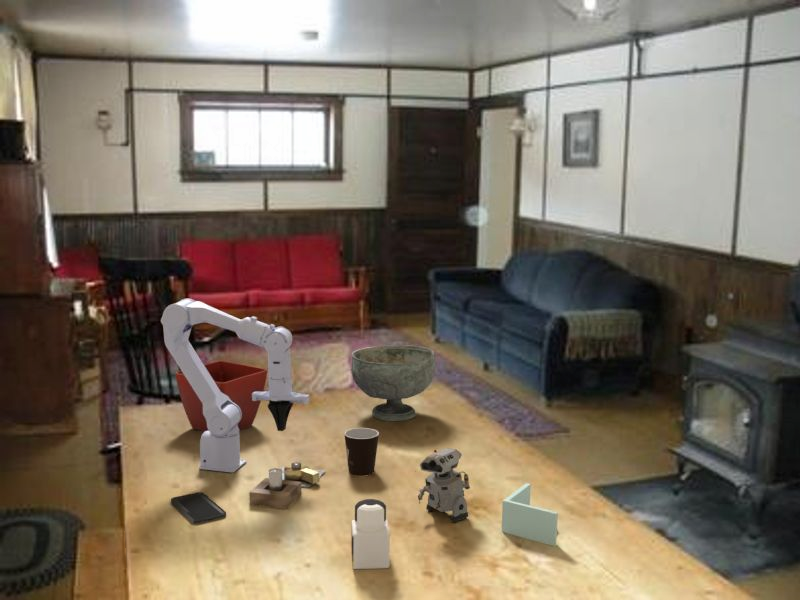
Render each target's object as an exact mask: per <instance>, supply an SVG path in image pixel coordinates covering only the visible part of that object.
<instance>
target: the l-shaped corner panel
mask: <svg viewBox="0 0 800 600" xmlns="http://www.w3.org/2000/svg"><path fill="white" fill-rule="evenodd" d="M531 486H532V485H531V483H528V482H525V483H524V484H523V485H522V486H521V487H519V488H517V489H516V490H515V491H514V492H512V493H511V494H509V495H508V496H507V497H506V498H504V499H503V500H502V506H501V507H502V511H501V512H502V513H501V533H504V534H509V535H512V536H516V537H519V538H523V539H527V540H530V541H534V542H538V543H542V544H547V545H550V546H556V545H557V538H558V537H557V536H558V535H557V534H558V518H559V517H558V515H559V513H558V512H557V511H554V510H550V509H545V508H542V507H537V506H534V505H530V504H531V489H532V487H531Z"/></svg>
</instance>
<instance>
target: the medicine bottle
mask: <svg viewBox="0 0 800 600" xmlns="http://www.w3.org/2000/svg"><path fill="white" fill-rule="evenodd" d="M388 522H389V521H388V519H387V506H386V504H385V503H384V502H383V501H382V500H379V499H374V498H368V499H362V500H360V501H358V502H357V503H356V504H355V505H354V519H352V520H351V538H350V539H351V540H350V541H351V543H350V544H351V547H350V548H351V551H350V552H351V564H352V565H351V566H352V569H353V570H373V569H374V570H377V569H389V568H390V564H391V563H390V562H391V561H390V556H391V555H390V553H391V550H390V548H391V546H390V545H391V542H390V539H391V537H390V536H391V534H390V528H389V523H388Z"/></svg>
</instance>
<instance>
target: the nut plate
mask: <svg viewBox="0 0 800 600" xmlns="http://www.w3.org/2000/svg"><path fill="white" fill-rule="evenodd" d="M285 467H286V466H285V465H284V466H283V467H282V468H281V469H282V480H289V481H297V482H301V488H303V489H304V488H305V489H310V488H311V487H312V486H313V485H314V484H315V483H310V482H308V481H305V480H302V479H299V480H292V479H287V478H285V477H284V468H285ZM310 469H311V468H310ZM311 470H313V471H316V472H319V477H320V478H321V477H322V476H323V475H324V474H325V473H326V470H320V469H311ZM323 473H324V474H323Z"/></svg>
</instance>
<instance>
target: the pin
mask: <svg viewBox="0 0 800 600" xmlns="http://www.w3.org/2000/svg"><path fill="white" fill-rule="evenodd" d="M268 478H269V490H273V491H282V468H280V467H279V468H277V467H274V468H269V470H268Z"/></svg>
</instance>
